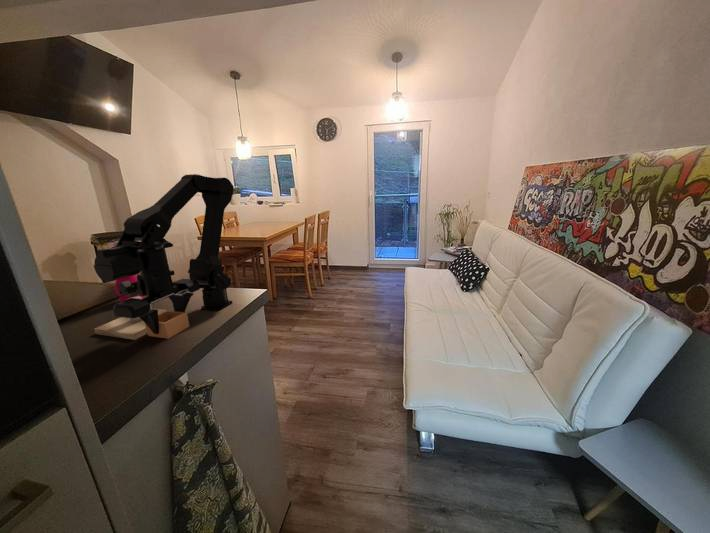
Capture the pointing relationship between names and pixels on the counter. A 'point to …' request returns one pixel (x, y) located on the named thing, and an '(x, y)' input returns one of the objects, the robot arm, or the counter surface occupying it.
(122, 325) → the duct base
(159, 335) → the open square box
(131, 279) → the pepper mill
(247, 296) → the counter surface
